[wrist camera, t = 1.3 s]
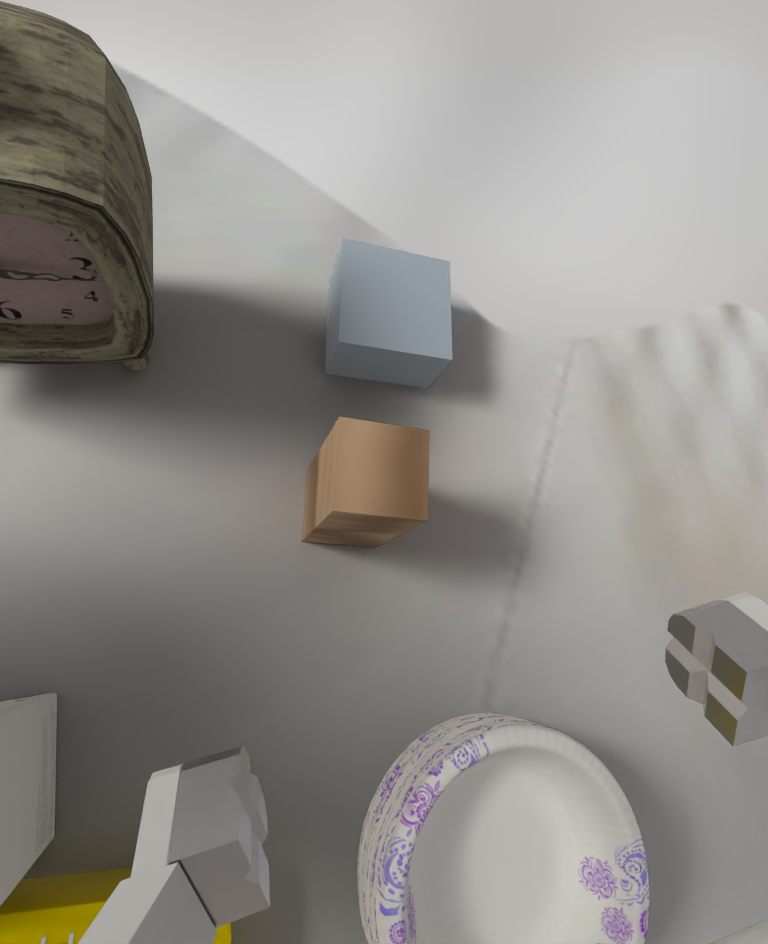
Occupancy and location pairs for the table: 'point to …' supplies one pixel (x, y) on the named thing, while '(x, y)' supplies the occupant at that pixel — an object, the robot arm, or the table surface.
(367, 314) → the slate block
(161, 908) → the robot arm
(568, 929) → the paper bowls
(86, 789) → the table surface
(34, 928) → the element tile
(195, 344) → the table surface
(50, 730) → the supplement box
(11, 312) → the tabletop clock
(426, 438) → the walnut pillar
